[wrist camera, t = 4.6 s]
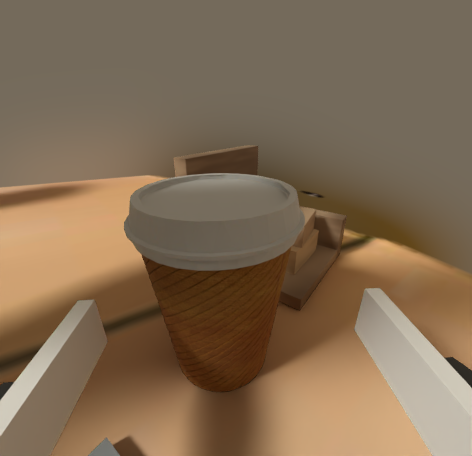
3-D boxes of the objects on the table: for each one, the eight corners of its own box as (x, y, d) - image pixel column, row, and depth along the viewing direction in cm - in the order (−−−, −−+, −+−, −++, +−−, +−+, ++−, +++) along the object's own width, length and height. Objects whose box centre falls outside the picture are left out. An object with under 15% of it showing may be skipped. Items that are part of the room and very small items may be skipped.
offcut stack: (230, 251, 29) (229, 211, 27) (257, 233, 33) (258, 197, 31) (295, 275, 24) (300, 229, 22) (316, 250, 29) (322, 210, 27)
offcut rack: (185, 264, 28) (173, 157, 23) (247, 227, 38) (249, 145, 33) (295, 316, 21) (313, 175, 16) (339, 253, 30) (358, 152, 25)
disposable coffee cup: (145, 326, 20) (114, 181, 15) (248, 292, 24) (250, 167, 19) (172, 458, 12) (126, 249, 7) (318, 377, 16) (352, 202, 11)
